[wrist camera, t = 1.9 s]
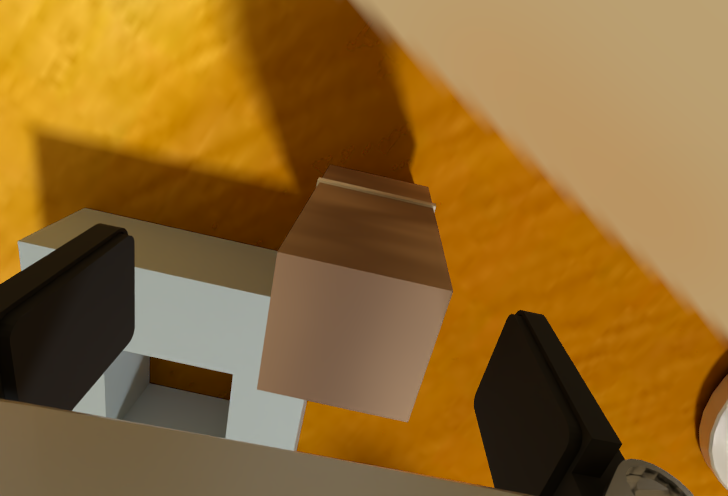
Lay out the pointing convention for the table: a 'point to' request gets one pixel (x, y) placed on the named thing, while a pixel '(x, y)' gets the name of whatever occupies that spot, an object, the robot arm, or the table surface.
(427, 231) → the peg
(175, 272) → the grey square-hole block
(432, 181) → the table surface
